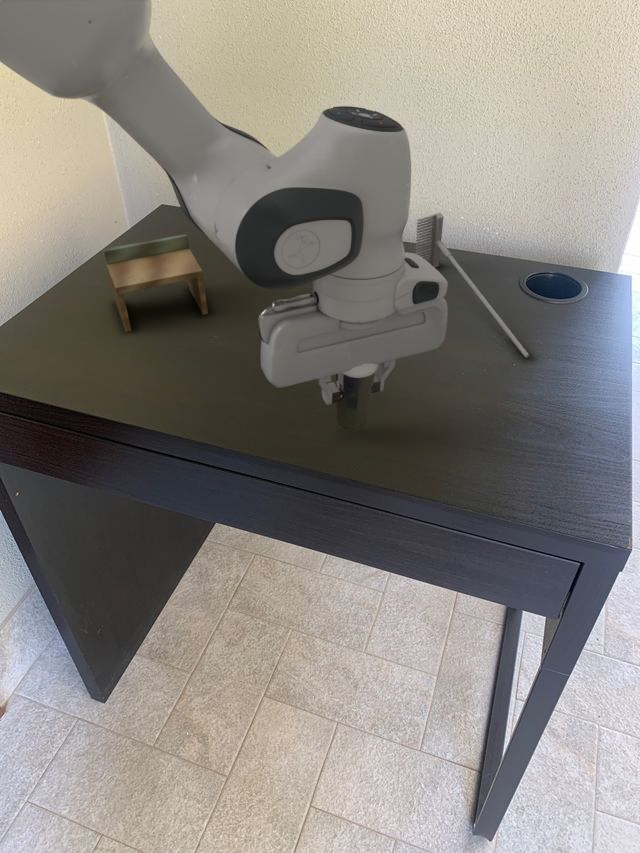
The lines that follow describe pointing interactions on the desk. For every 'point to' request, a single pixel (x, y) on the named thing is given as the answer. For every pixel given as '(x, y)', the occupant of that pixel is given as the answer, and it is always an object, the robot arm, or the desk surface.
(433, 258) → the brush
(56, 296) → the desk surface
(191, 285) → the bench
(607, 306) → the desk surface
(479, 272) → the desk surface
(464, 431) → the desk surface
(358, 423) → the milkshake
